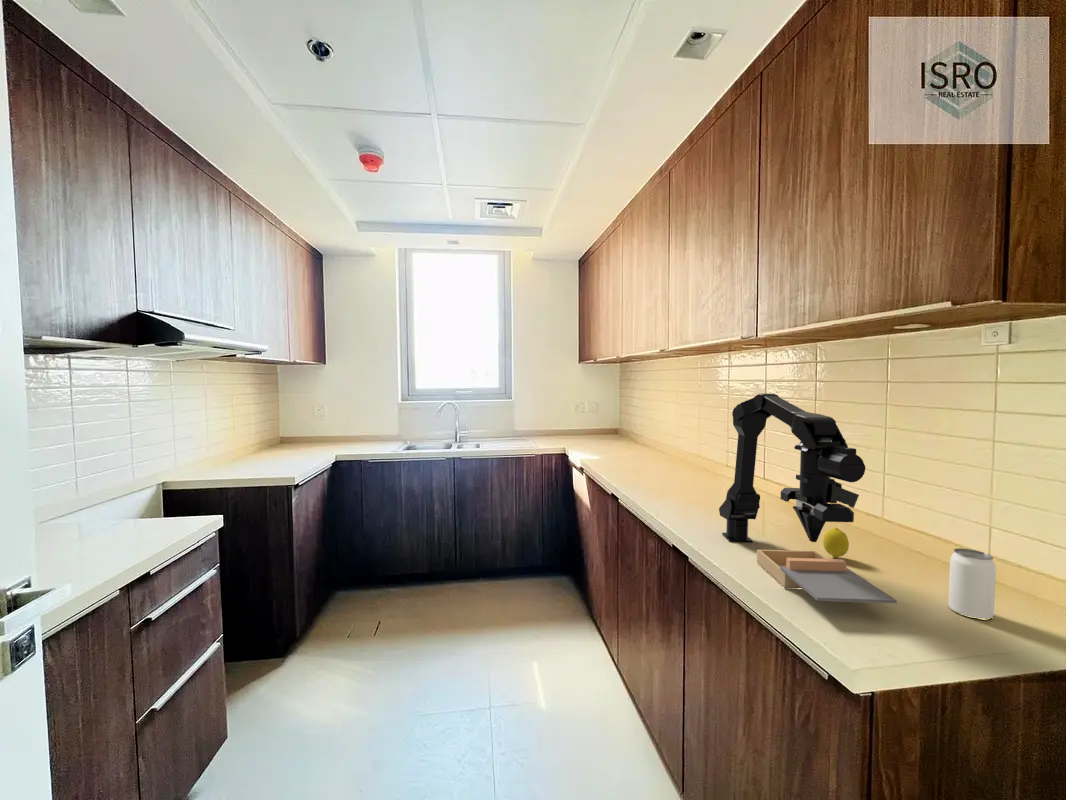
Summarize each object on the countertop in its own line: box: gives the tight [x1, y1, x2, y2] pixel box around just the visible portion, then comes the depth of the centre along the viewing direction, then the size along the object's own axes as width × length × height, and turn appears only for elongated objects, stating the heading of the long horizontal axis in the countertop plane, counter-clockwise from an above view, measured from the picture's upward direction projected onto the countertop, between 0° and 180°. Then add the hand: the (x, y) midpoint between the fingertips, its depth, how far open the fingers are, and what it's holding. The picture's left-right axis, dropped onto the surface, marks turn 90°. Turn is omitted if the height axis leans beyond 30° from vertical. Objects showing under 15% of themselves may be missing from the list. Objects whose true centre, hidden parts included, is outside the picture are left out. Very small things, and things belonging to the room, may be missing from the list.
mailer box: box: [756, 549, 827, 590], centre depth 106 cm, size 14×14×4 cm
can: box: [948, 548, 997, 619], centre depth 89 cm, size 6×6×12 cm
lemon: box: [822, 527, 850, 559], centre depth 117 cm, size 6×6×8 cm
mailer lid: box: [780, 558, 898, 604], centre depth 93 cm, size 15×15×3 cm
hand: (812, 541), depth 101 cm, fingers closed
